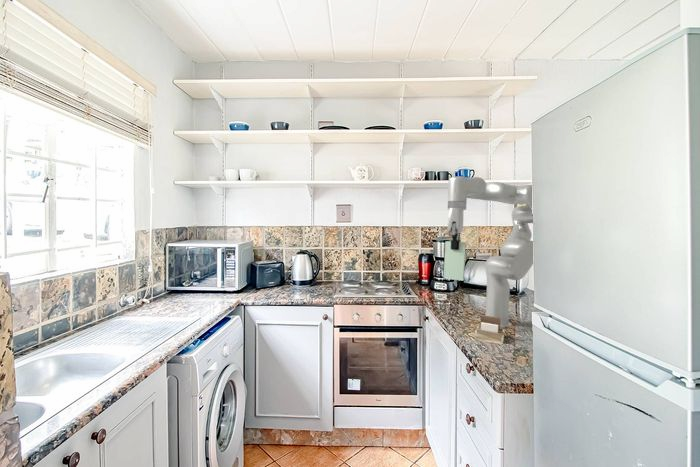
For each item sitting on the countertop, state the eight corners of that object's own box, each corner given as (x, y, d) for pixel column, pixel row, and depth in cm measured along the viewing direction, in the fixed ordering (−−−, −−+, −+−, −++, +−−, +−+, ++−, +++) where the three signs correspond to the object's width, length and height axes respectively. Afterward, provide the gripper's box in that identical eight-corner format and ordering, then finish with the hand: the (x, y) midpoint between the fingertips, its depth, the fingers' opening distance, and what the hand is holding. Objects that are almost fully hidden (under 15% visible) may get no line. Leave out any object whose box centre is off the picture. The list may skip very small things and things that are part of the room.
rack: (477, 333, 129) (478, 322, 129) (504, 338, 124) (504, 326, 124) (474, 341, 120) (474, 329, 120) (502, 347, 115) (503, 334, 115)
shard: (470, 320, 148) (471, 316, 148) (487, 324, 143) (487, 320, 143) (462, 325, 140) (462, 321, 140) (479, 329, 135) (479, 325, 135)
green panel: (444, 277, 134) (446, 241, 134) (463, 280, 130) (465, 242, 130) (443, 278, 132) (445, 241, 132) (463, 280, 129) (465, 242, 128)
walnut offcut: (480, 334, 124) (481, 315, 124) (499, 338, 121) (500, 318, 121) (479, 335, 123) (480, 316, 123) (499, 339, 119) (500, 319, 119)
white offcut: (480, 337, 121) (481, 322, 121) (497, 340, 118) (498, 324, 118) (480, 338, 120) (481, 323, 120) (497, 341, 117) (498, 326, 117)
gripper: (451, 207, 139) (450, 247, 140) (443, 205, 125) (442, 250, 126) (469, 207, 135) (467, 248, 136) (463, 204, 121) (461, 251, 122)
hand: (455, 249), depth 131 cm, fingers closed on green panel, 2 cm apart
